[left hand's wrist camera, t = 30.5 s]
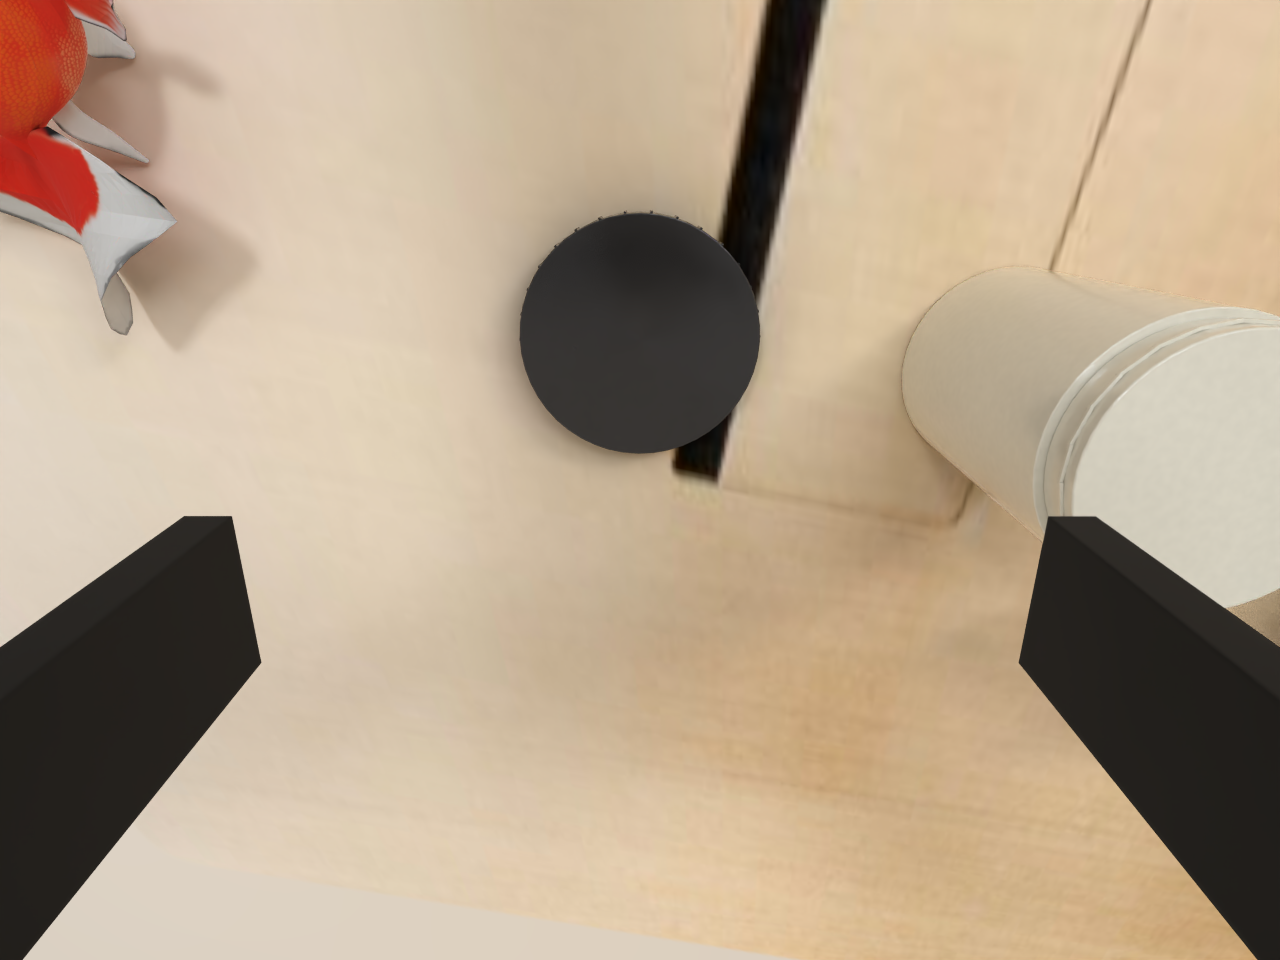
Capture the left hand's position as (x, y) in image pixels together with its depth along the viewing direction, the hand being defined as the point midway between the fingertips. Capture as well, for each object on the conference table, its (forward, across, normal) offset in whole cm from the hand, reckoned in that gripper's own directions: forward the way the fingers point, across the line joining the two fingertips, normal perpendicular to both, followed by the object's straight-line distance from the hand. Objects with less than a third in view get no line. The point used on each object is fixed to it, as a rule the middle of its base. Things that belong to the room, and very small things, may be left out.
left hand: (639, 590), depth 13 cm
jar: (+26, +18, -2) cm, 32 cm away
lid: (+24, 0, 0) cm, 24 cm away
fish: (+26, -23, +8) cm, 36 cm away
